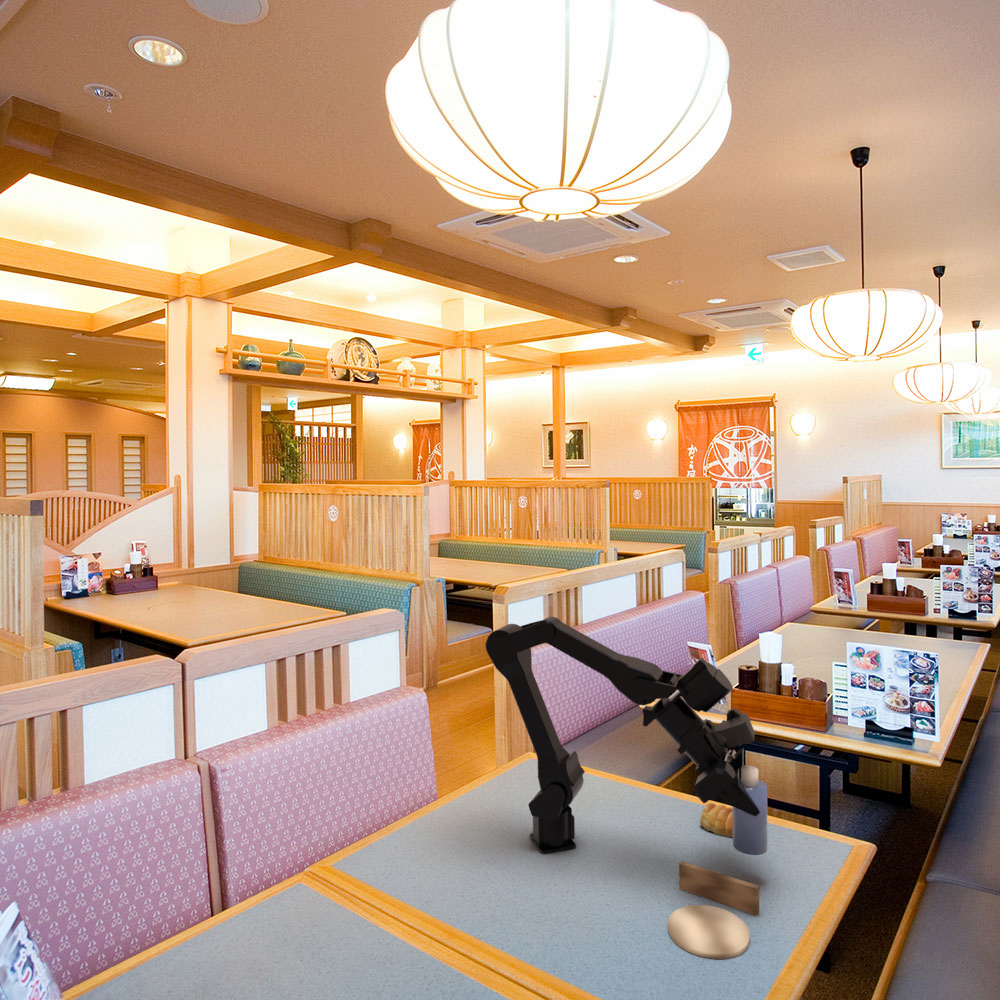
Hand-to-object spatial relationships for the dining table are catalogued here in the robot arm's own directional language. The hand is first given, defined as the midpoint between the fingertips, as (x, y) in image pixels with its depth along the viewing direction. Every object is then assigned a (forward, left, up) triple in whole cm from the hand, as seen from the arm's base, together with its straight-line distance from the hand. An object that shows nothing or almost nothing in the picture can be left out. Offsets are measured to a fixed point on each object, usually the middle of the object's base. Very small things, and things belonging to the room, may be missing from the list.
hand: (759, 806), depth 115 cm
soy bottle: (-1, +1, -7) cm, 7 cm away
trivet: (-15, -9, -12) cm, 21 cm away
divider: (-9, -2, -12) cm, 15 cm away
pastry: (+5, +17, -12) cm, 22 cm away
